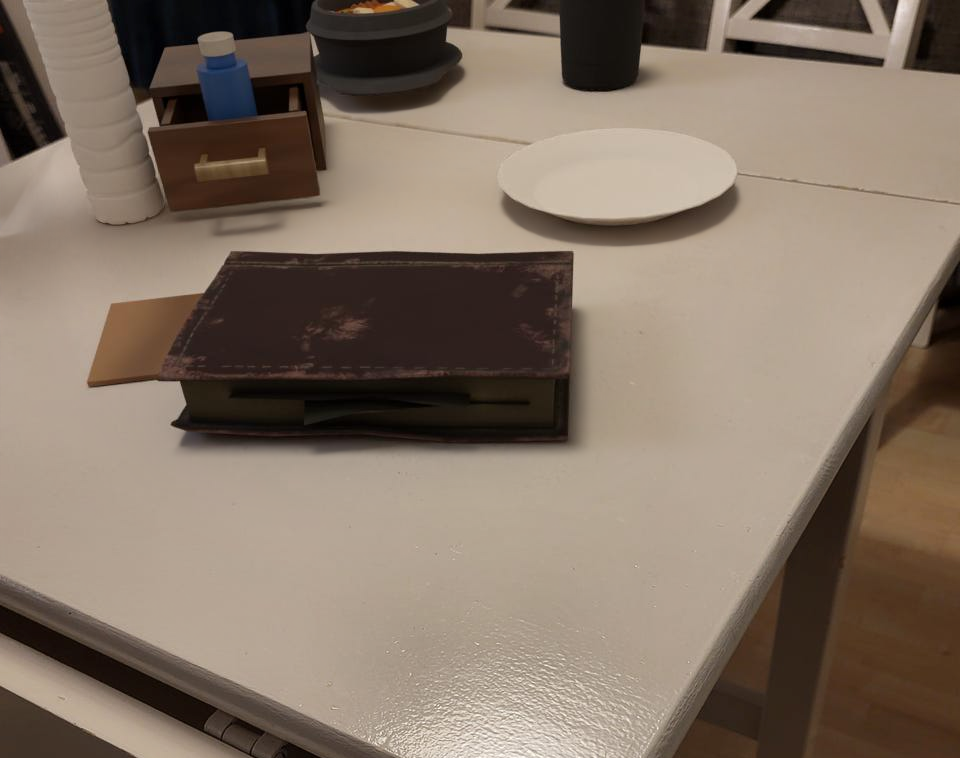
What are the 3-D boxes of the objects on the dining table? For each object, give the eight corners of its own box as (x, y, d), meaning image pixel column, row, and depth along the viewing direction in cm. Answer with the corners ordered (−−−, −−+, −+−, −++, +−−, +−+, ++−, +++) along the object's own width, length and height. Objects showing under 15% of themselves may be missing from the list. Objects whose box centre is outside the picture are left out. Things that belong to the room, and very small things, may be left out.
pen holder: (645, 90, 107) (651, -15, 100) (560, 95, 108) (559, -10, 101) (637, 65, 114) (642, -35, 107) (557, 69, 114) (557, -30, 108)
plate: (771, 173, 88) (775, 147, 87) (667, 265, 76) (669, 237, 75) (573, 140, 97) (573, 116, 96) (452, 217, 85) (450, 191, 84)
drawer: (320, 214, 85) (306, 131, 80) (165, 231, 85) (141, 148, 80) (318, 148, 97) (306, 72, 93) (182, 163, 97) (162, 87, 92)
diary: (246, 305, 75) (231, 241, 71) (572, 307, 72) (574, 241, 69) (171, 446, 61) (149, 376, 58) (567, 452, 59) (569, 380, 56)
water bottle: (167, 194, 93) (77, -129, 76) (163, 220, 89) (65, -117, 71) (75, 205, 93) (-37, -118, 75) (65, 233, 88) (-57, -105, 71)
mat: (88, 387, 68) (86, 382, 68) (112, 308, 77) (111, 303, 76) (231, 370, 69) (230, 365, 68) (239, 293, 77) (238, 288, 77)
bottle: (219, 182, 89) (187, 45, 81) (222, 165, 92) (191, 32, 84) (267, 176, 89) (239, 40, 82) (269, 160, 92) (242, 27, 85)
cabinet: (326, 169, 96) (310, 71, 89) (175, 186, 95) (149, 88, 89) (324, 123, 105) (310, 32, 99) (187, 138, 105) (164, 47, 99)
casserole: (472, 104, 107) (467, 17, 101) (304, 119, 107) (289, 33, 101) (456, 43, 125) (450, -34, 119) (312, 56, 125) (299, -20, 119)
